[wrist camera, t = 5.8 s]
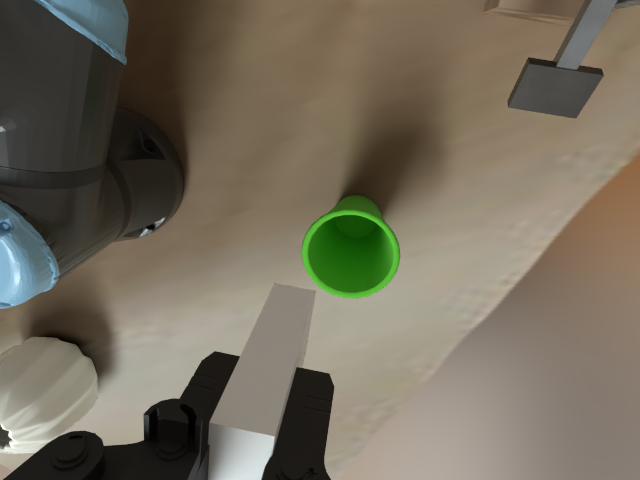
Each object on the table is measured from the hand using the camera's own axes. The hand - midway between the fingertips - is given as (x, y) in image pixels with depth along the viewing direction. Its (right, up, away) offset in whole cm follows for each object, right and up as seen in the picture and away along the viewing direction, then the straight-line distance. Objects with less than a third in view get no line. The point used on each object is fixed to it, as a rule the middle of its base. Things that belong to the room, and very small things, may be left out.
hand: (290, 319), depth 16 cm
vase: (-36, -15, +50) cm, 63 cm away
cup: (+5, +6, +35) cm, 36 cm away
